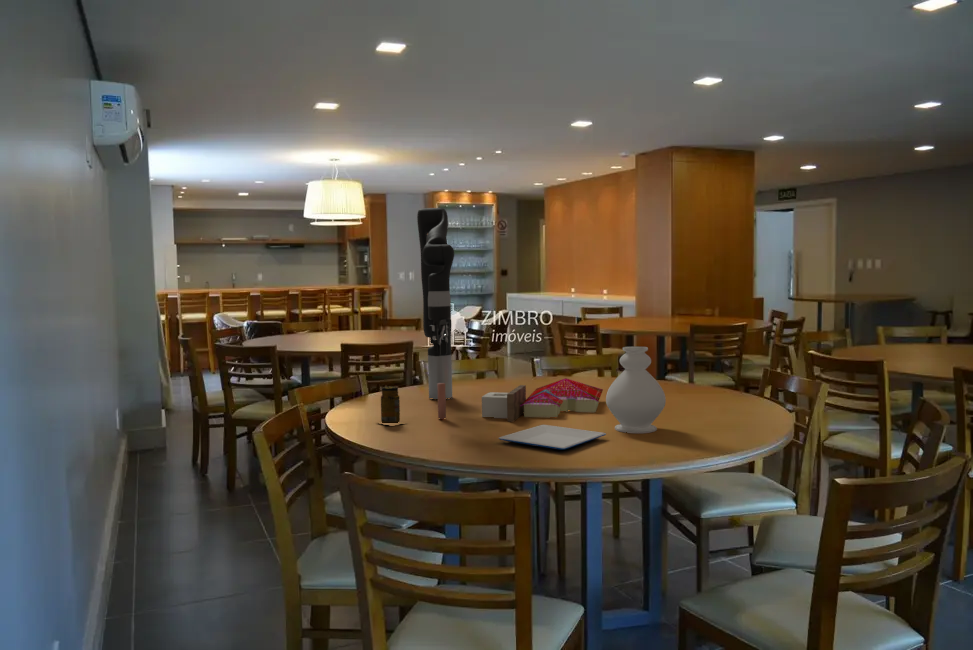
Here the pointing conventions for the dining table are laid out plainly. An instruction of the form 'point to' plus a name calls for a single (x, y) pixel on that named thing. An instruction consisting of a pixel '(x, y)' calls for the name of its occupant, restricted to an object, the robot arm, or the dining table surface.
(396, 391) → the condiment
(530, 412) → the house model
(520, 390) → the wall
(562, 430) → the plate
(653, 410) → the decorative vase
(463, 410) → the dining table surface
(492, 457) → the dining table surface
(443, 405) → the dowel
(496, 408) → the block
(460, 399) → the dining table surface
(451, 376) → the robot arm
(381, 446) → the dining table surface
